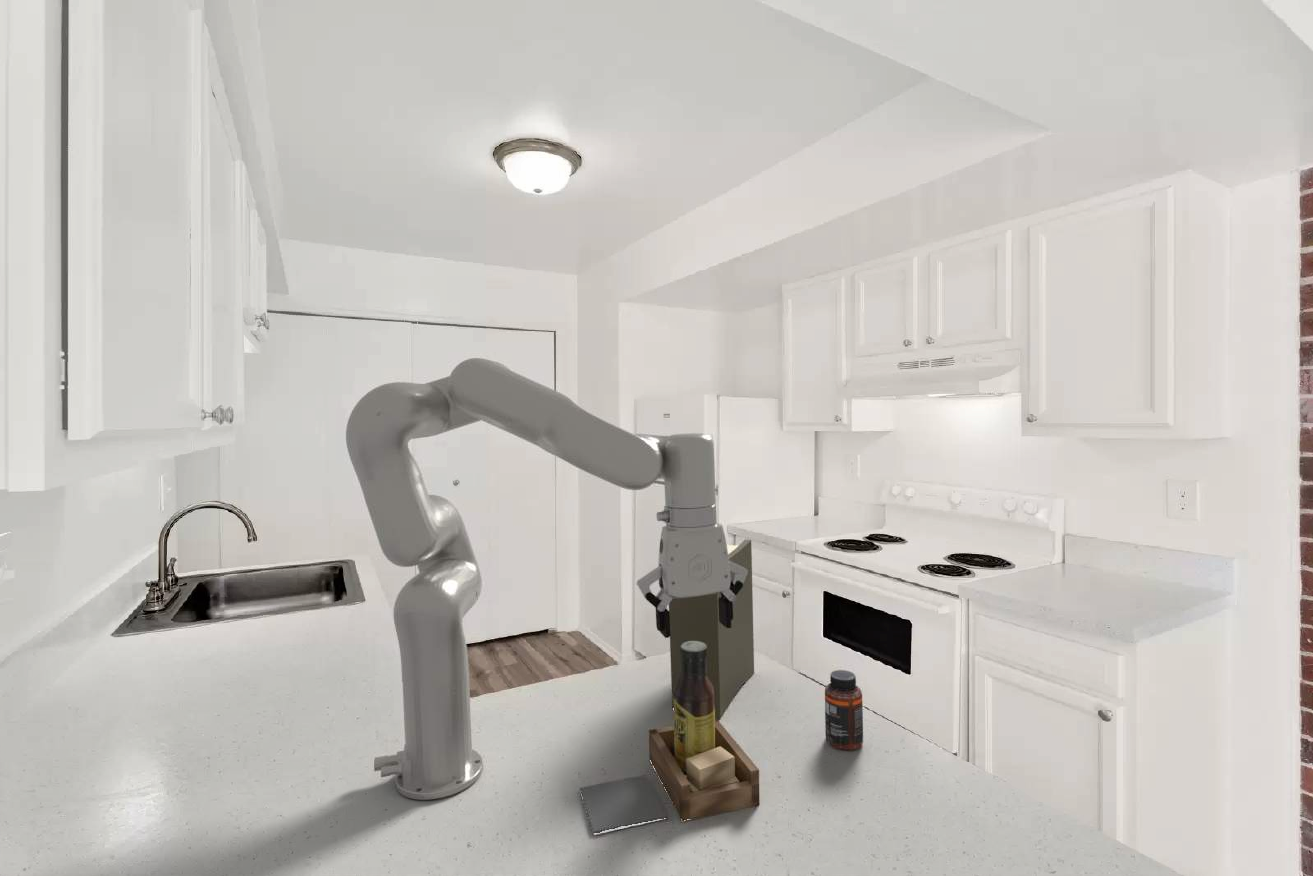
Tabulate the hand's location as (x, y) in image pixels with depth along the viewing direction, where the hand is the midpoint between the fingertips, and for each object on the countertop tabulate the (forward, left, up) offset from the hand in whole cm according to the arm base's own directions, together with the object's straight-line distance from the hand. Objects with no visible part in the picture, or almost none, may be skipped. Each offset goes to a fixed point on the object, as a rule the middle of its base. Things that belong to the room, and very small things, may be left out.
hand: (695, 630), depth 96 cm
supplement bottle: (+26, 0, -22) cm, 34 cm away
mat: (-13, -4, -22) cm, 26 cm away
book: (+13, +24, -22) cm, 35 cm away
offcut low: (0, -6, -22) cm, 23 cm away
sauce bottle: (0, 0, -22) cm, 22 cm away
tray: (0, -2, -22) cm, 22 cm away
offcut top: (0, -6, -19) cm, 20 cm away
